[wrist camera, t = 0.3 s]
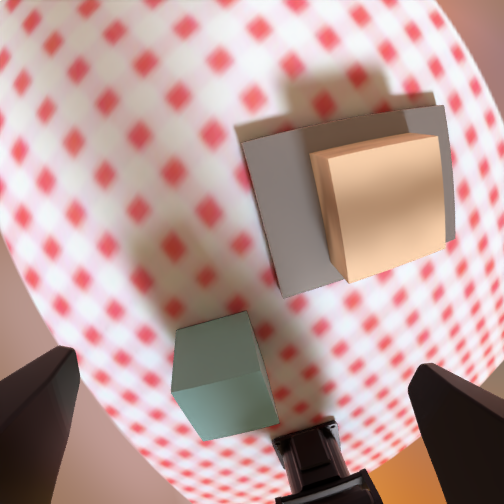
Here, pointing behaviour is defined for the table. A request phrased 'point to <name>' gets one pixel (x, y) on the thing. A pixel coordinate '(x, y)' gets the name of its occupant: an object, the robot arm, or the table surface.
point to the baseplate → (305, 191)
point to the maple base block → (381, 202)
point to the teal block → (222, 378)
